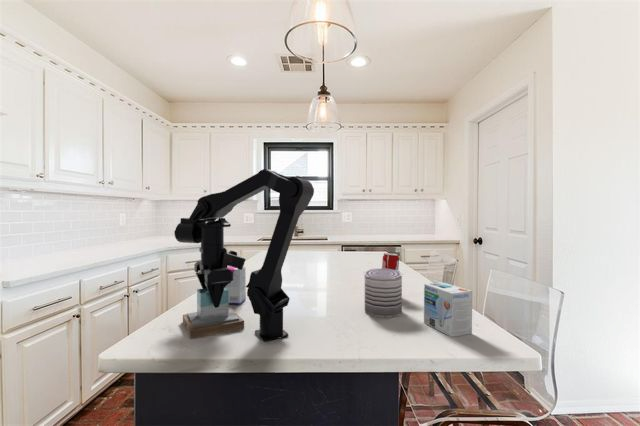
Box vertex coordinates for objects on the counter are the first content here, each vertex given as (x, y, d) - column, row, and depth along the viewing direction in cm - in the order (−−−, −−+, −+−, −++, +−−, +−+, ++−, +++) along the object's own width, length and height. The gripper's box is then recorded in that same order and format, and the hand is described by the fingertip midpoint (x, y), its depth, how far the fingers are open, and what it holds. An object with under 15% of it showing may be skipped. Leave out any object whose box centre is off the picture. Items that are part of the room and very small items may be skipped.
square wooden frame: (244, 328, 83) (244, 318, 82) (190, 338, 76) (190, 328, 76) (230, 314, 94) (230, 305, 94) (182, 322, 87) (182, 313, 87)
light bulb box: (422, 323, 87) (423, 283, 87) (442, 320, 89) (442, 281, 89) (451, 337, 77) (452, 293, 77) (473, 334, 79) (473, 290, 79)
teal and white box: (223, 311, 89) (223, 286, 89) (228, 316, 84) (228, 289, 84) (197, 315, 85) (197, 289, 85) (200, 321, 81) (200, 293, 81)
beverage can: (377, 294, 116) (377, 252, 116) (393, 292, 118) (393, 252, 118) (385, 298, 110) (385, 255, 110) (402, 296, 112) (402, 254, 112)
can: (408, 310, 98) (408, 271, 97) (391, 320, 89) (391, 277, 89) (375, 303, 105) (375, 266, 105) (356, 312, 96) (356, 272, 96)
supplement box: (246, 299, 109) (246, 266, 108) (240, 305, 103) (240, 269, 103) (229, 299, 109) (229, 266, 109) (222, 304, 103) (222, 269, 103)
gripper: (253, 245, 81) (253, 307, 81) (233, 239, 97) (233, 291, 97) (207, 248, 75) (208, 314, 75) (194, 241, 91) (194, 296, 91)
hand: (212, 302), depth 85 cm, fingers open, 9 cm apart
